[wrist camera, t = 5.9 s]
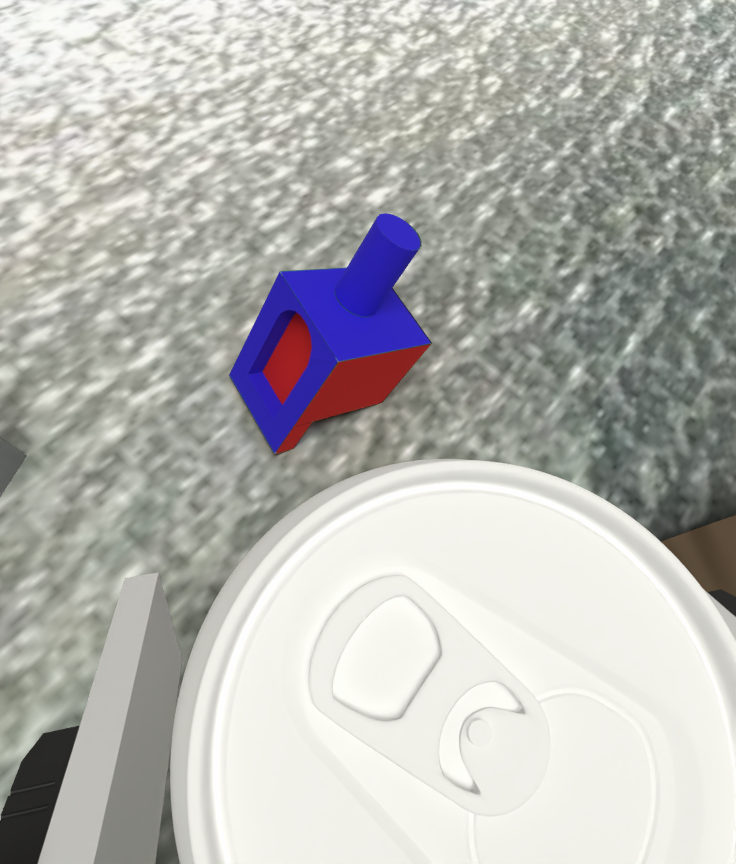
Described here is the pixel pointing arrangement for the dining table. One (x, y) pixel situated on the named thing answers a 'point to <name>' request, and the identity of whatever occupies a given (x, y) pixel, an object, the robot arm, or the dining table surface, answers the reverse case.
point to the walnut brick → (709, 554)
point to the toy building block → (331, 338)
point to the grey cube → (8, 463)
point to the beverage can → (457, 685)
